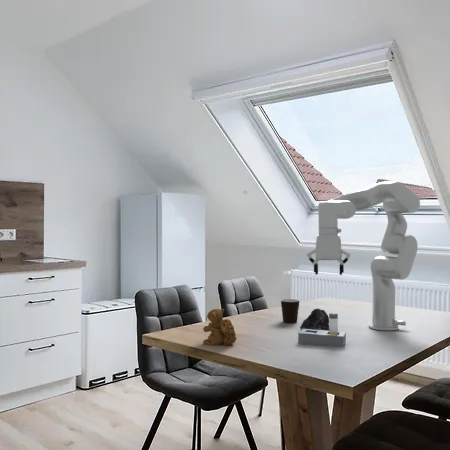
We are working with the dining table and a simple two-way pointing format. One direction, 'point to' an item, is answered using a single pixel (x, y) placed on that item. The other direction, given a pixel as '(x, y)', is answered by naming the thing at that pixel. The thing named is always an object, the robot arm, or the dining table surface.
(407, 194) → the robot arm
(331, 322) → the plug
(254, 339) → the dining table surface
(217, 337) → the stuffed squirrel
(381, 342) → the dining table surface
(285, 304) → the coffee mug
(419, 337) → the dining table surface
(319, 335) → the socket block
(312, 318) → the black rock
